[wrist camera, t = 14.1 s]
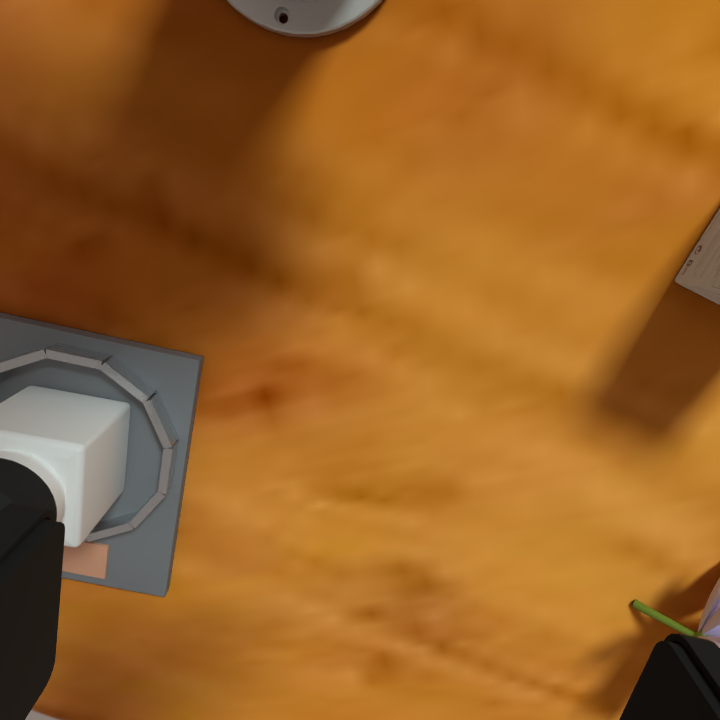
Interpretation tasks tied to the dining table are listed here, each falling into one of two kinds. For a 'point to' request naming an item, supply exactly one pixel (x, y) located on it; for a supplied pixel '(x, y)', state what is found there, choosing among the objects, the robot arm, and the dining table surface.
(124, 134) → the dining table surface
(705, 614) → the water lily
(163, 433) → the steel rings
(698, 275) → the supplement box
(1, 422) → the medicine bottle
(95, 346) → the socket board
